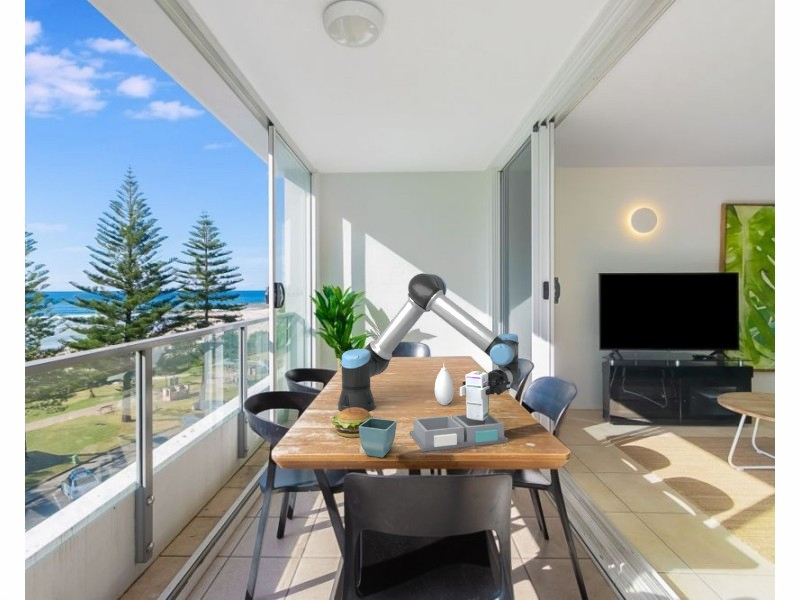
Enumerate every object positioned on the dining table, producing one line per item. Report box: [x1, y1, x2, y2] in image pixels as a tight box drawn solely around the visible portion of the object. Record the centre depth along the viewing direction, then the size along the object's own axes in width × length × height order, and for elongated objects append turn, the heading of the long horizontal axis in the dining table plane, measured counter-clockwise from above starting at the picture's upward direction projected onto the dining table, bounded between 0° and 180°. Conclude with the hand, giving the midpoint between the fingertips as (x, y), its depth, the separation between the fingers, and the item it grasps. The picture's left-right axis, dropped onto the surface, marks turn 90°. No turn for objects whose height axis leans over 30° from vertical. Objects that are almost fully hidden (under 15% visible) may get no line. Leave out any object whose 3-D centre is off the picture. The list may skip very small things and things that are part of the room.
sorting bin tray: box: [409, 413, 509, 453], centre depth 127 cm, size 28×15×6 cm, turn 104°
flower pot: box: [359, 417, 398, 458], centre depth 115 cm, size 9×9×9 cm
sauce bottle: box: [434, 364, 455, 407], centre depth 165 cm, size 8×8×18 cm
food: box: [331, 407, 374, 438], centre depth 134 cm, size 14×14×8 cm
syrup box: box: [465, 370, 490, 421], centre depth 128 cm, size 6×6×14 cm
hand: (470, 393), depth 124 cm, fingers closed on syrup box, 6 cm apart
